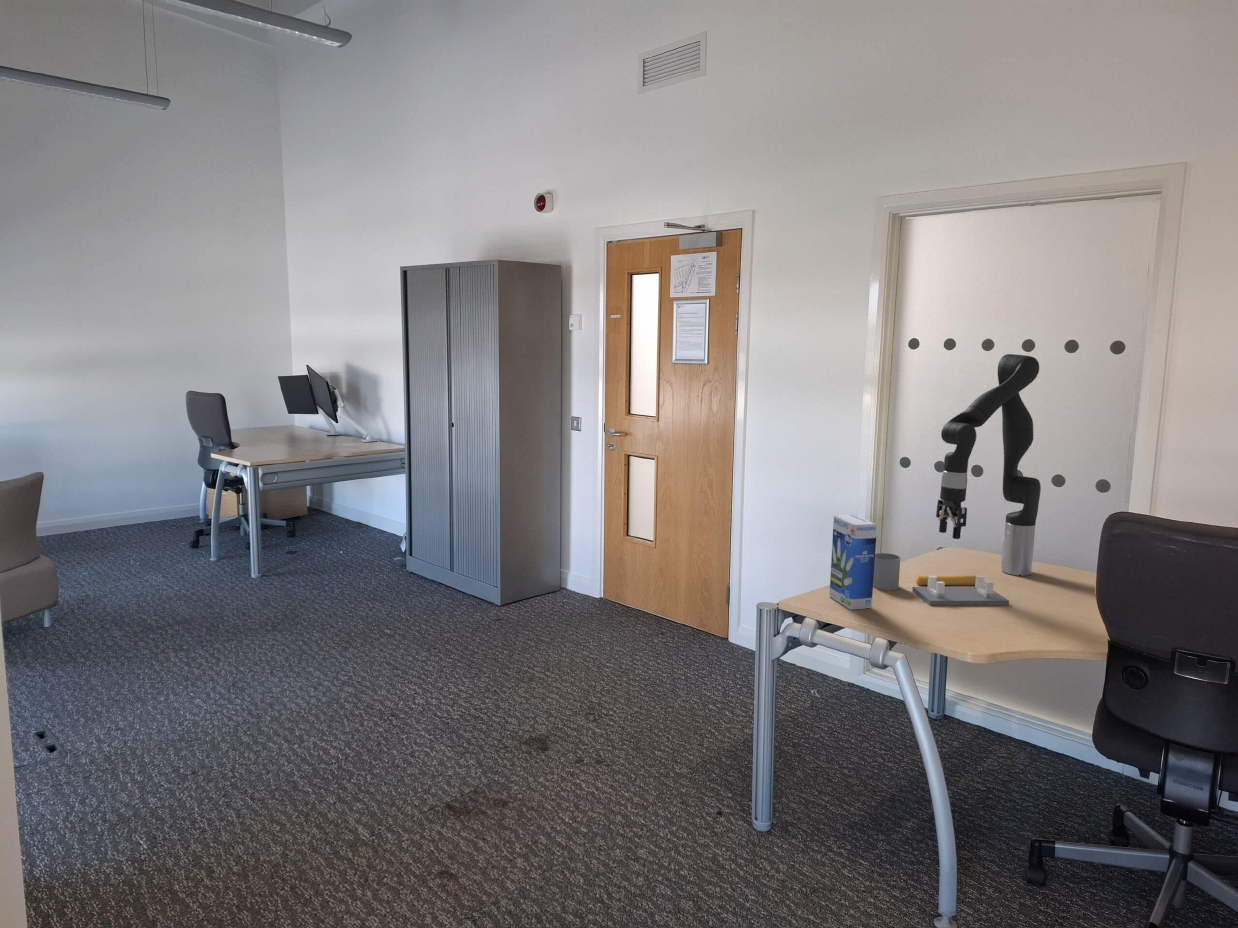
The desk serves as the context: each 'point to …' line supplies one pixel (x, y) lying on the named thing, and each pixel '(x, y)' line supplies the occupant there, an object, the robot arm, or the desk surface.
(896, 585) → the cup
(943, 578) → the orange rod
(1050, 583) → the desk surface
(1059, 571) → the desk surface
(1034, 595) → the desk surface
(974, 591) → the board
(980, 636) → the desk surface
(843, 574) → the string lights box
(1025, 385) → the robot arm
